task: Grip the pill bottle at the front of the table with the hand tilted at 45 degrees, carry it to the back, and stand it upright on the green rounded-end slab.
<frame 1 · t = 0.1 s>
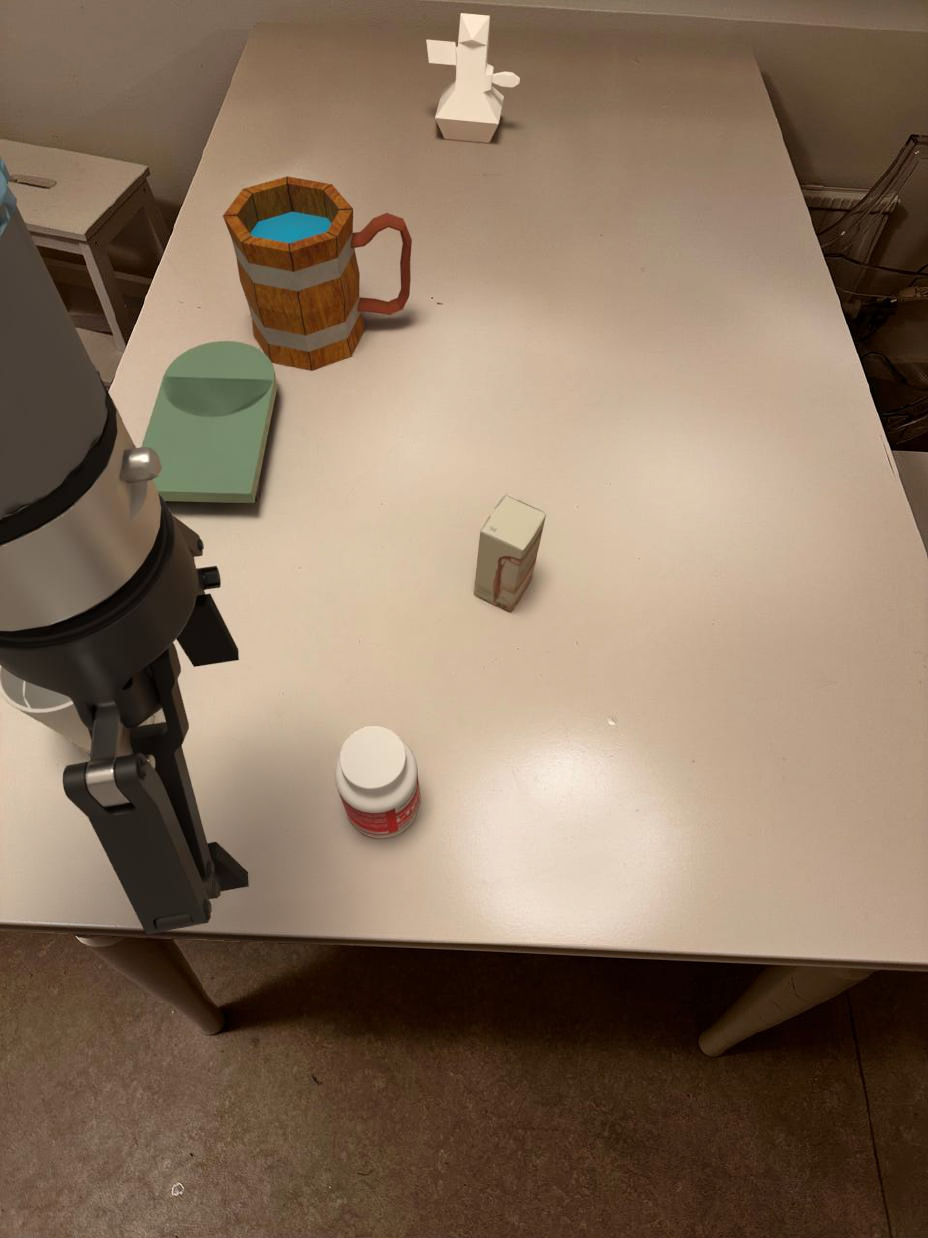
hand: (219, 762, 42), 20 cm above the table, tool pointing down, fingers open, 13 cm apart
green rounded-end slab: (220, 438, 81), on the table
pill bottle: (383, 802, 62), on the table
small juice carton: (504, 585, 73), on the table
cup: (117, 725, 64), on the table
white low-poly figurine: (470, 131, 115), on the table
mug: (335, 331, 91), on the table
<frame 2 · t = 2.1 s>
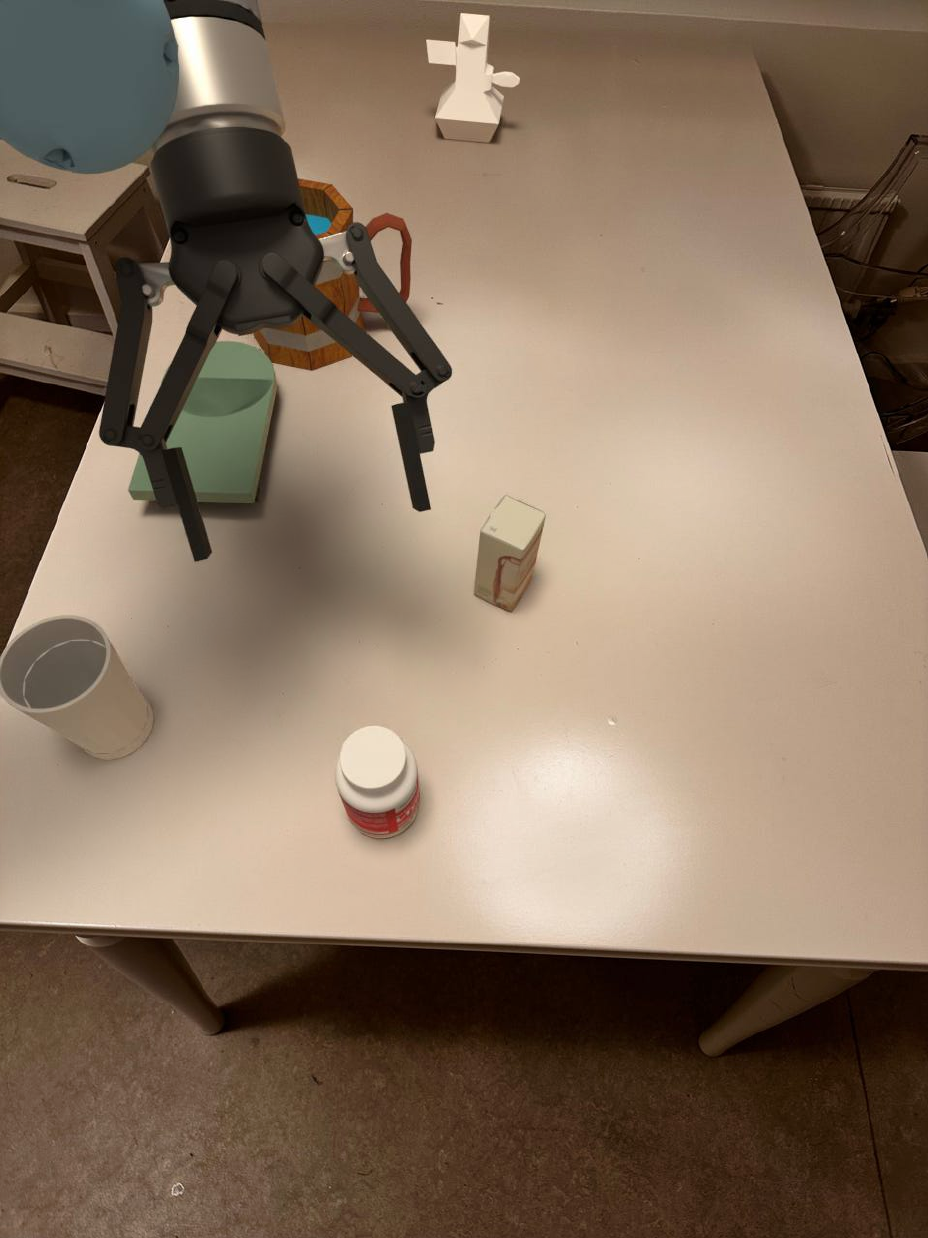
hand: (315, 533, 46), 24 cm above the table, tool tilted 45°, fingers open, 13 cm apart
nothing on the table moved.
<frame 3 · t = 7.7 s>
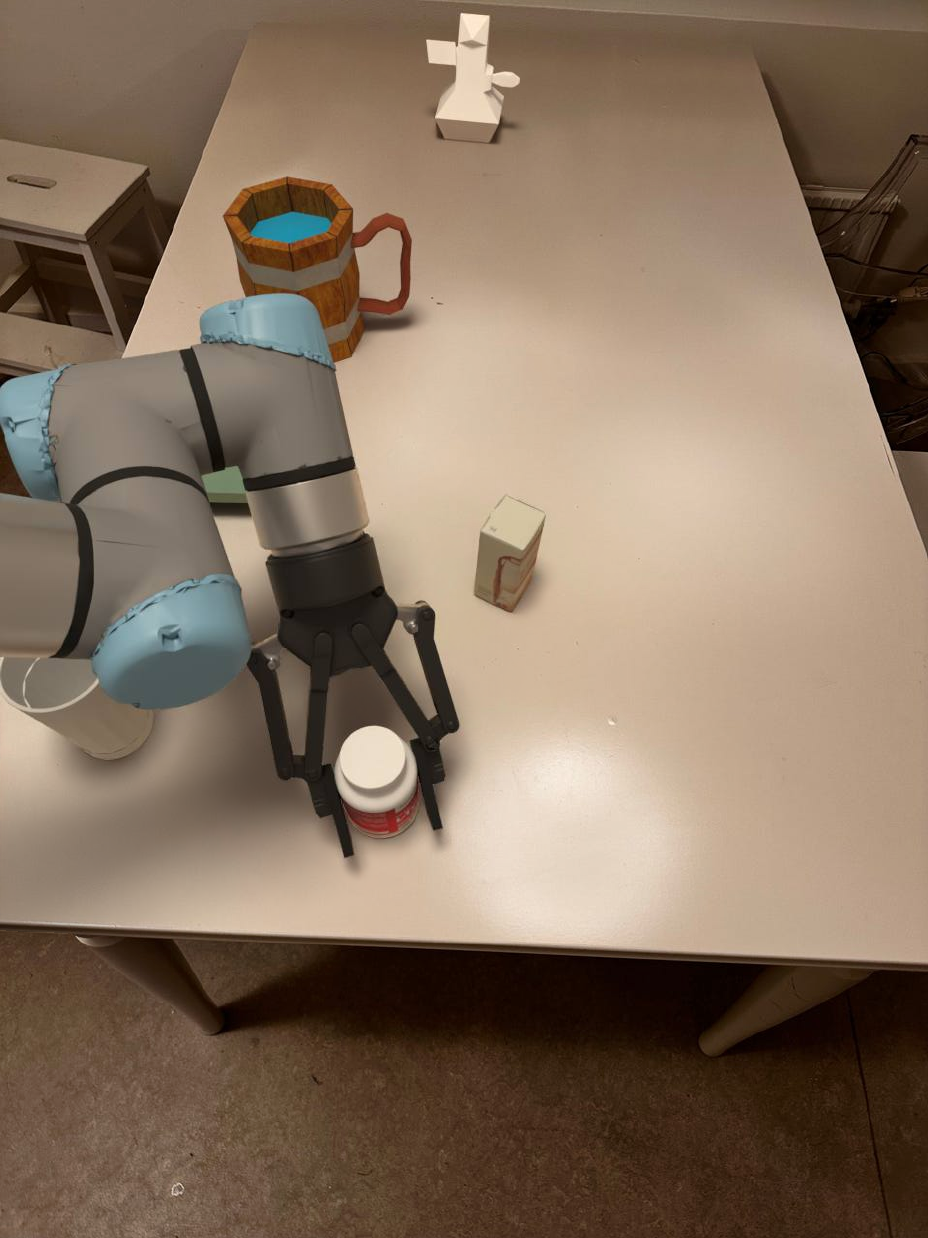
hand: (391, 833, 57), 3 cm above the table, tool tilted 45°, fingers closed on pill bottle, 6 cm apart
pill bottle: (383, 802, 62), on the table, touching gripper
everything else where it was.
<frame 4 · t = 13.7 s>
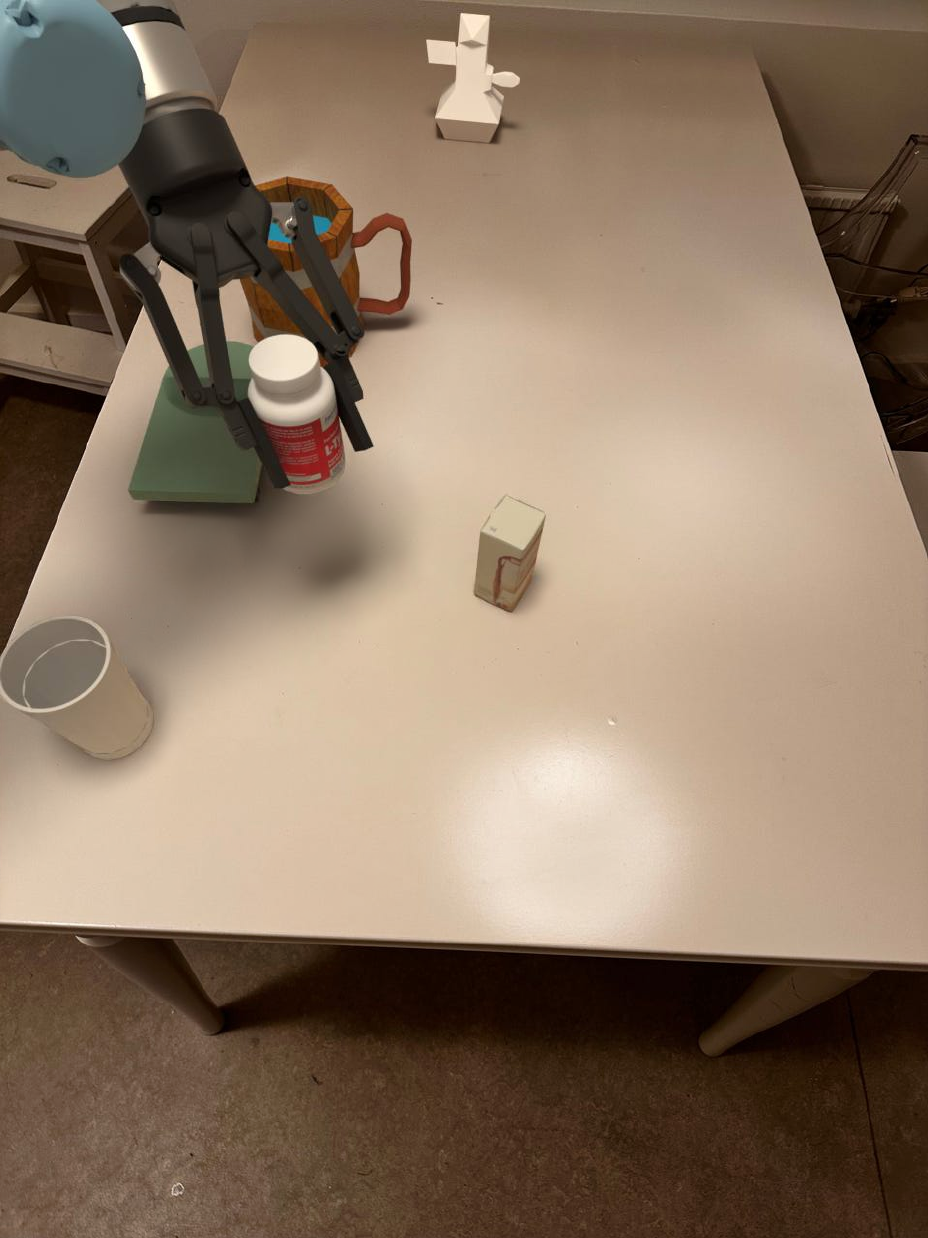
hand: (323, 467, 55), 19 cm above the table, tool tilted 45°, fingers closed on pill bottle, 6 cm apart
pill bottle: (308, 469, 60), point 15 cm above the table, touching gripper
everything else where it was.
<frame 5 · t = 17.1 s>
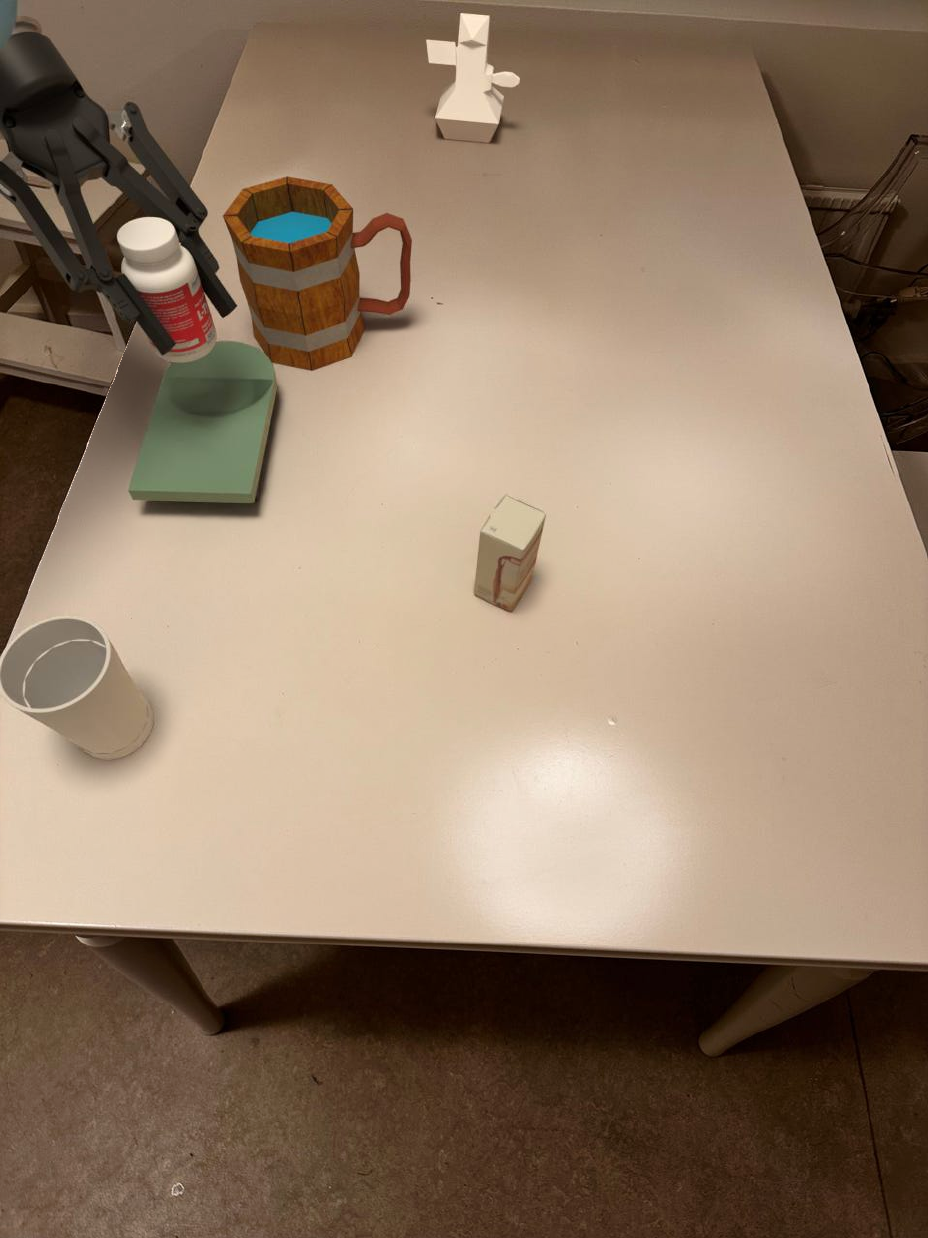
hand: (199, 330, 66), 16 cm above the table, tool tilted 45°, fingers closed on pill bottle, 6 cm apart
pill bottle: (186, 344, 71), point 12 cm above the table, touching gripper
everything else where it was.
when the fingers open (7 cm above the table, at t = 19.8 s): pill bottle stays where it is, resting on green rounded-end slab.
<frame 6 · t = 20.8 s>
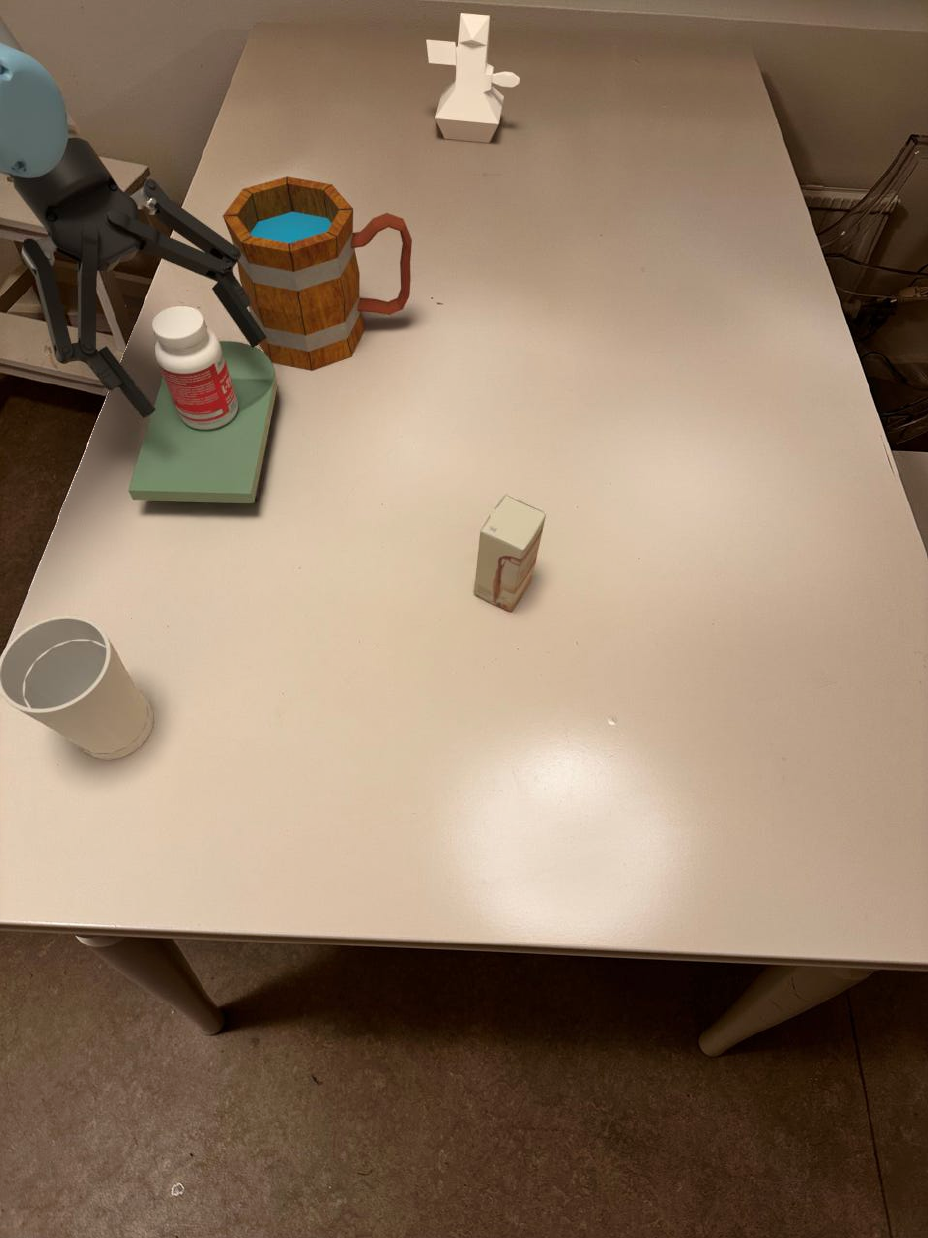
hand: (207, 377, 72), 10 cm above the table, tool tilted 45°, fingers open, 13 cm apart
pill bottle: (210, 412, 78), point 4 cm above the table, touching green rounded-end slab
everything else where it was.
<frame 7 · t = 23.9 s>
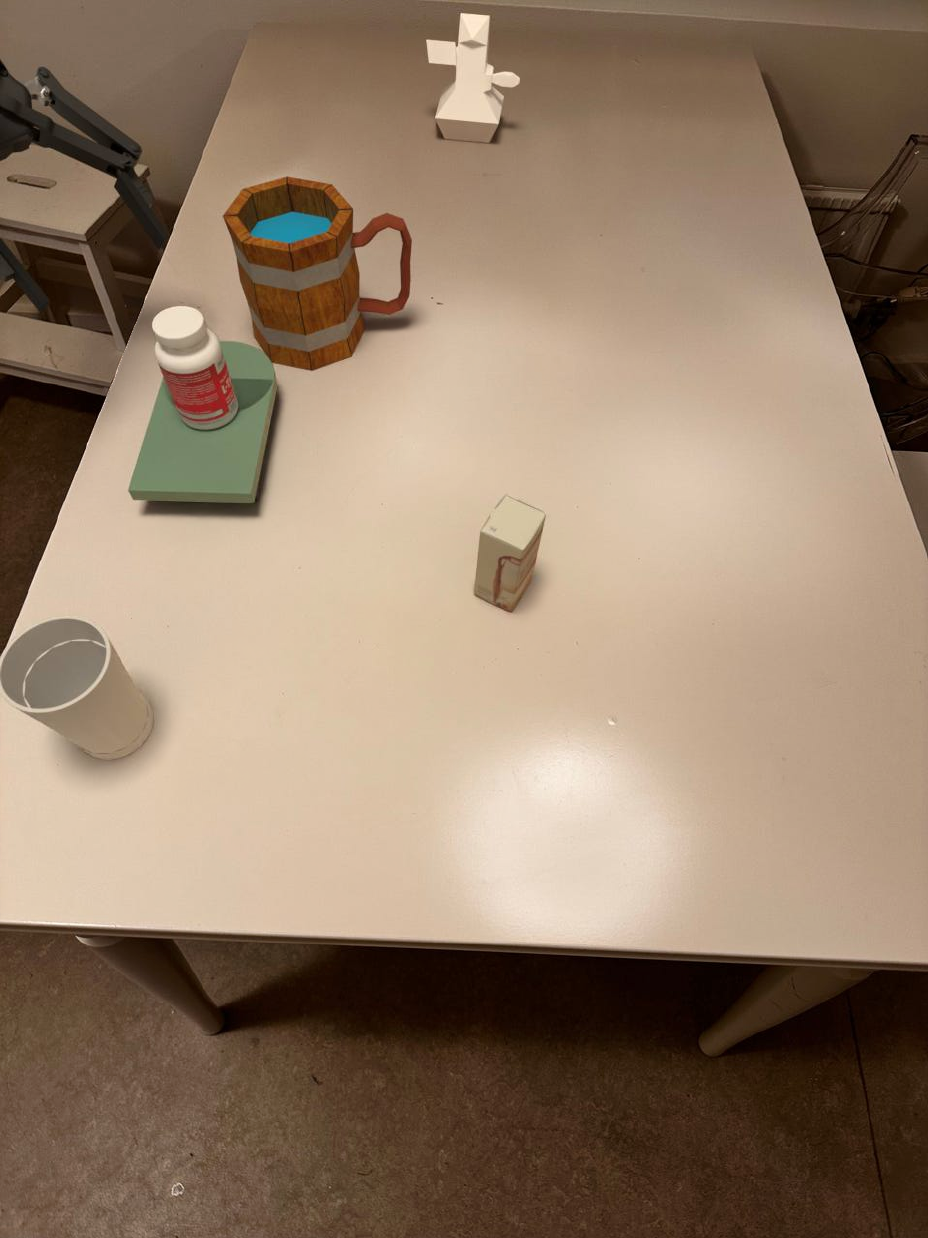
hand: (107, 274, 72), 15 cm above the table, tool tilted 45°, fingers open, 13 cm apart
nothing on the table moved.
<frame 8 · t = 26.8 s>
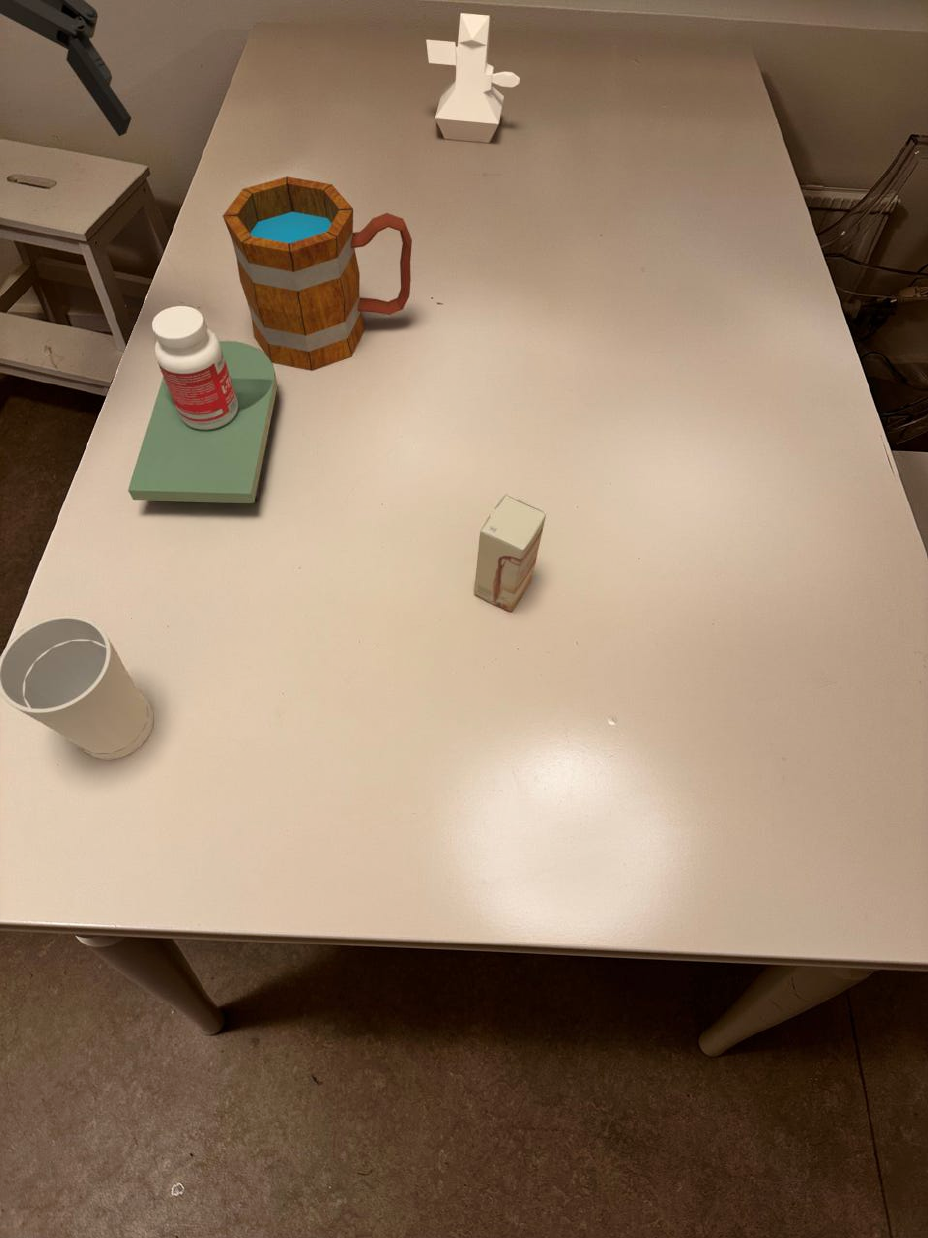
hand: (58, 158, 63), 26 cm above the table, tool tilted 45°, fingers open, 13 cm apart
nothing on the table moved.
at the end: pill bottle inside the target area on the green rounded-end slab (0.0 cm from its centre), point 3.8 cm above the green rounded-end slab's base; pill bottle tilted 0°; the gripper is holding nothing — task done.
